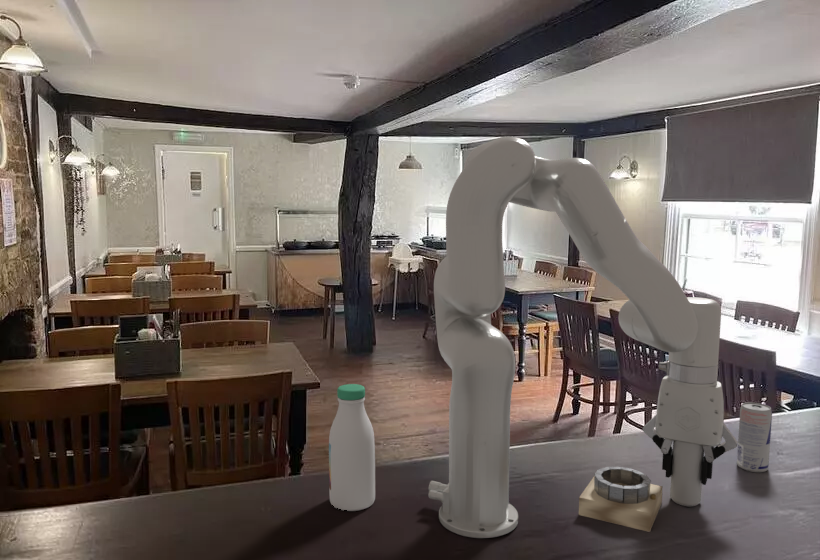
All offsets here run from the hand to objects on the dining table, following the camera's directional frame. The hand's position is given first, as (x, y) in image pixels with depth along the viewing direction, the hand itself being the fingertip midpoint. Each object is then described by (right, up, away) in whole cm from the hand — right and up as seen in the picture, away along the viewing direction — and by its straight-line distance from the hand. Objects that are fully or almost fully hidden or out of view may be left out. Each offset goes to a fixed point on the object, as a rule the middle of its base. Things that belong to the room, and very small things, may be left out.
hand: (686, 477), depth 109 cm
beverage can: (0, -5, +1) cm, 5 cm away
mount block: (-12, -5, -2) cm, 13 cm away
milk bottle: (-56, -5, +1) cm, 57 cm away
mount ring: (-12, -2, -2) cm, 12 cm away
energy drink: (+19, -3, +15) cm, 24 cm away
